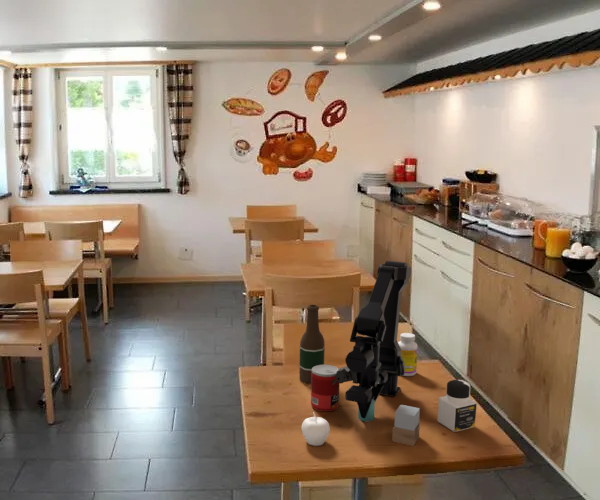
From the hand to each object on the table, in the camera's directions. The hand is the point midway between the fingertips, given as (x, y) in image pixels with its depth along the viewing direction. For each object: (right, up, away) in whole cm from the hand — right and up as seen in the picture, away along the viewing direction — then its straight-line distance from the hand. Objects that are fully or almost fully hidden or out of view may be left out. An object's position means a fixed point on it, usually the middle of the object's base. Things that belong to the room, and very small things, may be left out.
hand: (366, 414), depth 177 cm
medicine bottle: (+24, -2, -3) cm, 24 cm away
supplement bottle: (+16, +5, +33) cm, 37 cm away
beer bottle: (-14, +4, +26) cm, 30 cm away
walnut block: (+9, -4, -11) cm, 15 cm away
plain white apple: (-14, -4, -14) cm, 20 cm away
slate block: (+9, 0, -12) cm, 15 cm away
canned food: (-11, 0, +7) cm, 13 cm away
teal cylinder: (0, -1, 0) cm, 1 cm away
